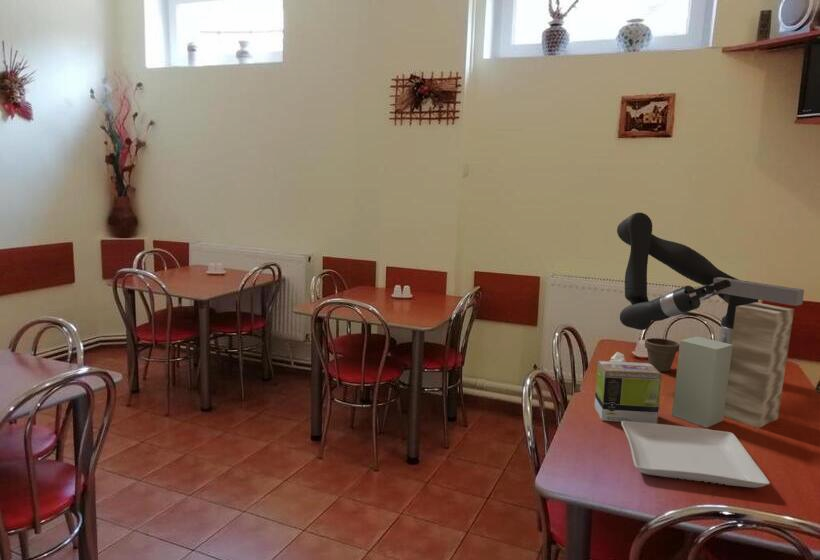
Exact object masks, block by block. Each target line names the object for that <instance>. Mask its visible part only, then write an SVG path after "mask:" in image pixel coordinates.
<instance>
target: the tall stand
mask: <svg viewBox="0 0 820 560" xmlns="http://www.w3.org/2000/svg"><path fill="white" fill-rule="evenodd" d="M794 312H795V309H794V308H790V307H783V306H778V305H773V304H767V303H761V302H758V303H757V302H755V303H750V304H746V305H741V306H736V312H735V319H734V327H733V334H732V342H731V344H732V345H733V348H732V356H731V363H730V371H729V378H728V385H727V393H726V400H725V408H724V415H723V418H728V419H731V420H733V421H736V422H738V423H743V424H745V425H749V426H751V427H755V428H757V429H761V428H762V427H764V426H767V425H768V424H771V423H773V422H774V421H777V420H778V419H779V412H780V406H781V400H782V393H783V385H784V380H785V374H786V373H785V372H786V365H787V360H788V359H787V358H788V353H789V347H790V346H789V345H790V339H791V334H792V333H791V332H792V326H793V319H794Z"/></svg>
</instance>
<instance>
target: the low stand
mask: <svg viewBox="0 0 820 560" xmlns="http://www.w3.org/2000/svg"><path fill="white" fill-rule="evenodd" d="M679 344H680V346H679V351H678V359H677V367H676V376H675V385H674V392H673V393H674V394H673V399H672V400H673V401H672V410H671V416H672V417H676V418H679V419H681V420H683V421H687V422H689V423H692V424H695V425H698V426H701V427H704V428H705V429H708V428H710V427H712V426H714V425H716V424H718V423H721V422H722V421H724V416H723V415H724V408H725V400H726V393H727V385H728V378H729V371H730V363H731V356H732V348H733V345H732V344H727V343H723V342H719V340H715V339H714V340H713V339H710V338H705V337H701V336H693V337H689V338H685V339H681V340H680V342H679Z"/></svg>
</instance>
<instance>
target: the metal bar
mask: <svg viewBox="0 0 820 560" xmlns="http://www.w3.org/2000/svg"><path fill="white" fill-rule="evenodd" d="M726 279H727V280H728V281H729V283H730V286H729V287H727V288H724V289H722V290H719V291H717V293H723V294H728V295H734V296H740V297H746V298H752V299H758V301H764V302H770V303H777V304H783V305H787V306H794V307H797V306H801V305H803V300H804V294H805V289H804V288H803V289H801V288H795V287H787V286H782V285H775V284H771V283H770V284H768V283H763V282H762V283H761V282H754V281H748V280H743V279H742V280H741V279H739V280H736V279H737V278H736V279H729V278H723V277H718V278H714V280H713V284H714V285H715V283H718V282H720V281H723V280H726Z"/></svg>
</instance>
